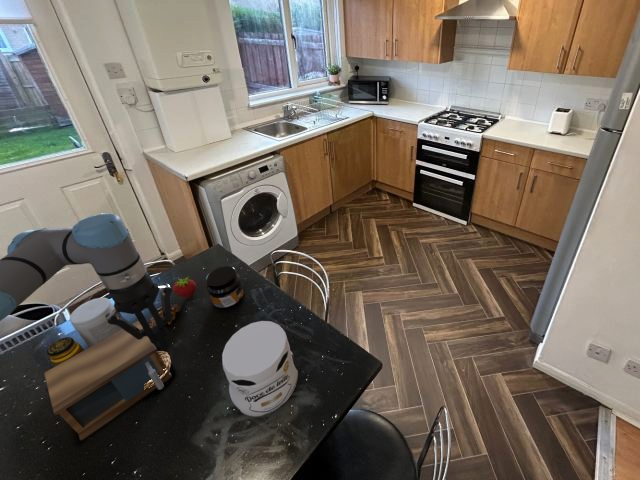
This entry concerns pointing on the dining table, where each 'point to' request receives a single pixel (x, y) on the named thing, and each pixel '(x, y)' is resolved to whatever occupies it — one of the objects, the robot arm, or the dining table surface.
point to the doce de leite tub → (259, 368)
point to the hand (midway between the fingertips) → (164, 345)
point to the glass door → (139, 377)
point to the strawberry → (185, 287)
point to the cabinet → (98, 381)
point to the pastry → (173, 311)
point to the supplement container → (224, 287)
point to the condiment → (63, 350)
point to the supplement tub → (94, 321)
